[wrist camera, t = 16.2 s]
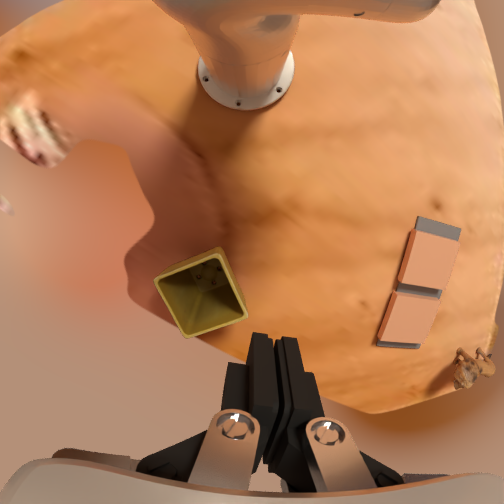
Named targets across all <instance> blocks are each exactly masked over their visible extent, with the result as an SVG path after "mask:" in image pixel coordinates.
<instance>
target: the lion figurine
mask: <svg viewBox="0 0 504 504" xmlns="http://www.w3.org/2000/svg"><path fill="white" fill-rule="evenodd" d="M457 353H459V354H460V355H462V356H463V357H464V360H463V361H461V360H460V359H455V360H454V364H457V363H458V366H457V369H456V370H455V372H454V377H455V378H456V380H454V387H455V389H456V390H457V389H459V388H464V387H465V388H466V389H467V388H470V387H471V386H472V385H473V384H474V383H475V380H476V379H477V378H478V376H480V375H484V376H485V377H491V376H492V375H493V374H494V373H495V366H494V364H493V362H492V361H491V360H490V357H491V355H492V354H489V355H488V357H487V356H486V355H485V354H484V353H483V351H482V350H481V348H478V349H477V353H479V354H481V355H482V357H483V358H484V361H485V362H484V361H483V360H480V359H473V358H472V357H470V356H469V355H468V354H467V353H465V352H464V351H463V349H462V348H459V349H458V350H457Z"/></svg>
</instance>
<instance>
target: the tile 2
mask: <svg viewBox="0 0 504 504" xmlns="http://www.w3.org/2000/svg"><path fill="white" fill-rule="evenodd" d="M459 247H460V242H458V241H456V240H453V239H450V238H446V237H442V236H439V235H435V234H431V233H427V232H423V231H420V230H416V229H412V230H411V234H410V238H409V241H408V245H407V248H406V252H405V255H404V259H403V262H402V266H401V269H400V272H399V275H398V280H399V281H400V282H401V283H405V284H411V285H417V286H423V287H429V288H435V289H441V290H446V287H447V285H448V282H449V279H450V276H451V273H452V270H453V266H454V263H455V260H456V257H457V253H458V250H459Z"/></svg>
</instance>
